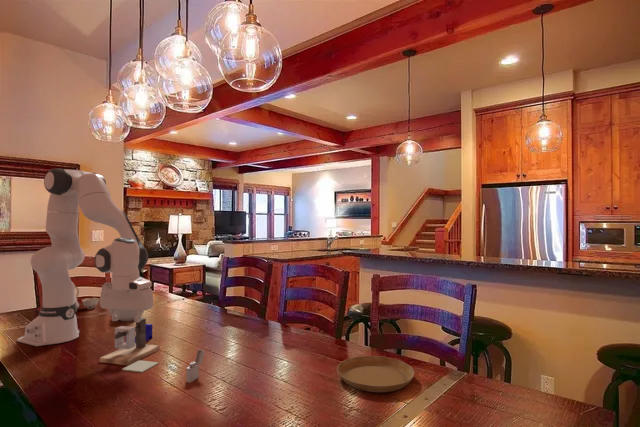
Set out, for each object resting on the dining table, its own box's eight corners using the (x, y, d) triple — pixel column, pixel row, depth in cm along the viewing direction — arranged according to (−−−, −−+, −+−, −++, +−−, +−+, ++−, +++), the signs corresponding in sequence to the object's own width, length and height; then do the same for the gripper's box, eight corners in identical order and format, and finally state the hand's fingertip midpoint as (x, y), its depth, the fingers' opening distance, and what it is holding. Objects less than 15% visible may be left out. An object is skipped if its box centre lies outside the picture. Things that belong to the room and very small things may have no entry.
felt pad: (121, 370, 123) (121, 369, 123) (139, 361, 131) (139, 360, 131) (142, 372, 121) (142, 371, 121) (158, 363, 129) (158, 362, 129)
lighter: (190, 382, 114) (190, 356, 114) (185, 382, 114) (186, 356, 115) (204, 373, 121) (204, 349, 121) (200, 373, 121) (200, 348, 121)
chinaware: (69, 322, 186) (72, 289, 187) (36, 318, 187) (40, 285, 187) (102, 309, 214) (106, 280, 215) (74, 305, 215) (77, 277, 215)
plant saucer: (336, 363, 130) (336, 354, 130) (405, 365, 129) (405, 355, 129) (337, 396, 106) (337, 385, 106) (422, 398, 105) (422, 386, 105)
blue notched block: (143, 337, 158) (143, 323, 158) (152, 338, 157) (152, 324, 157) (121, 347, 146) (122, 331, 146) (131, 348, 145) (131, 332, 145)
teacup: (144, 319, 187) (144, 303, 187) (123, 324, 178) (123, 307, 178) (128, 315, 194) (128, 299, 195) (107, 319, 185) (107, 303, 185)
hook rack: (99, 361, 130) (100, 327, 131) (133, 346, 146) (133, 316, 146) (128, 365, 127) (128, 330, 128) (159, 349, 143) (159, 318, 143)
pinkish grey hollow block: (114, 347, 133) (114, 328, 133) (121, 345, 136) (121, 325, 136) (128, 349, 132) (128, 329, 132) (134, 346, 135) (135, 327, 135)
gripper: (95, 283, 134) (95, 322, 134) (143, 285, 129) (143, 325, 129) (108, 280, 140) (109, 317, 140) (155, 282, 135) (156, 320, 135)
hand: (126, 321), depth 134 cm, fingers open, 8 cm apart
